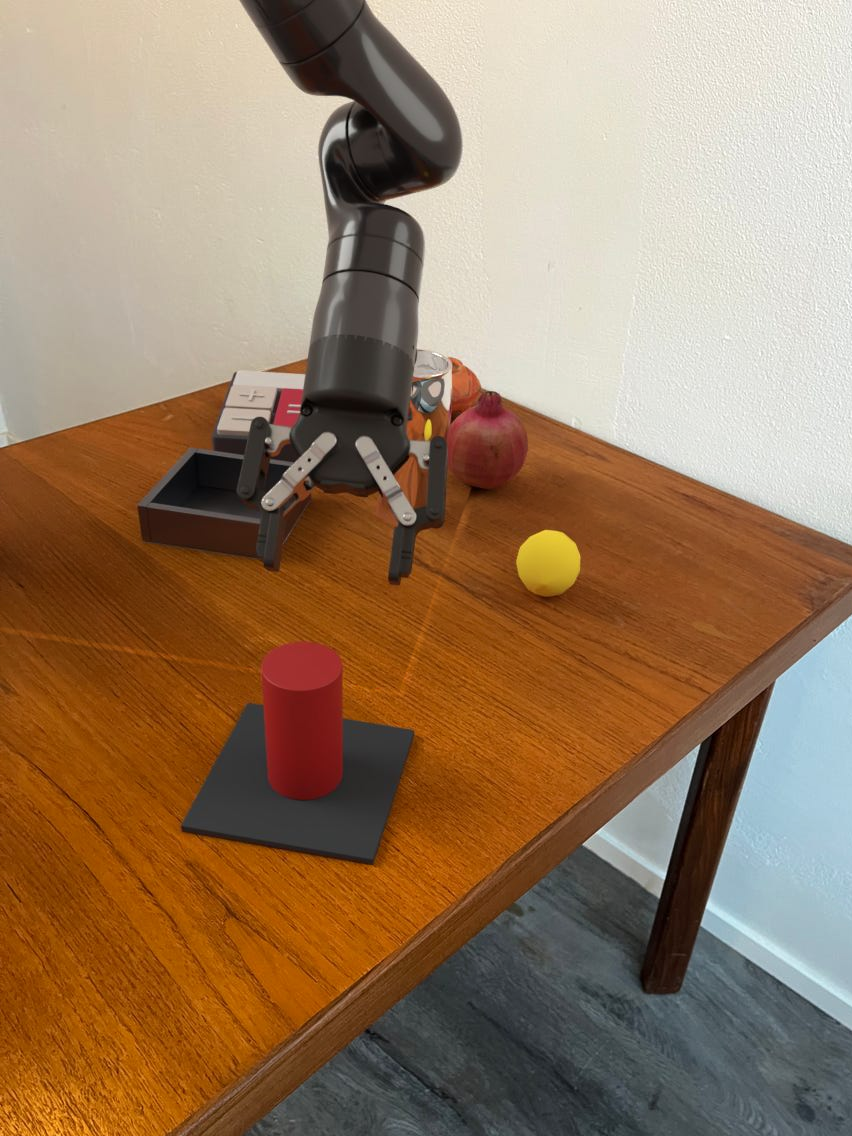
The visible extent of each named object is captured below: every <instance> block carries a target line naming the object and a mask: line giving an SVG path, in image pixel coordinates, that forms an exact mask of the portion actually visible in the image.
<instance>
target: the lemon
mask: <svg viewBox="0 0 852 1136" xmlns="http://www.w3.org/2000/svg"><path fill="white" fill-rule="evenodd" d="M515 563H516V570H517V574H518V577H519V579H520V580H521V582H522V584H523V585H524V586H525V588H526V589H527V590H528V591H530V592H531V593H533V594H534V595H537V596H540V597H555V596H560V595H562V594H564V593H565V592H566V591H568V590H569V589H570V588H571V587H572V586H573V585H574V584H575V582H576V580H577V578H578V576H579V574H580V572H581V554H580V551H579V549H578V546H577V543H576V542H575V541H573V539H571V538H570V537H569V536H568V535H567V534H566V533H564V532H563V531H558V530H554V529H553V530H552V529H544V530H542V531H540V532H539V531H538V532H537V533H535V534H533V535H531V536H529V537H528V538H526V540H525V541H524V542H523V543H522V544H521V545H520V547H519V550H518V553H517V557H516V560H515Z"/></svg>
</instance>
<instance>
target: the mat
mask: <svg viewBox="0 0 852 1136" xmlns="http://www.w3.org/2000/svg"><path fill="white" fill-rule="evenodd" d="M414 737H415V730H414V729H411V728H405V727H397V726H392V725H386V724H379V723H374V722H368V721H362V720H356V719H349V718H343V775H342V779H341V781H340V783H339V785H338V786H337V787H336V788H335V789H334V790H333V791H332V792H330V793H329V794H327V795H325V796H322V797H320V798H316V799H311V800H296V799H291V798H287V797H285V796H283V795H281V794H279V793H278V792H276V791H275V790H274V789H273V788H272V786H271V785H270V783H269V780H268V770H267V754H266V738H265V722H264V706H263V704H259V703H253V702H252V703H251V702H247V703H246V705H245V707H244V708H243V710H242V712H241V714H240V716H239V717H238V720H237V721H236V723H235V725H234V726H233V728H232V730H231V732H230V734H229V736H228V738H227V740H226V742H225V743H224V745H223V747H222V749H221V750H220V753H219V754H218V756H217V758H216V760H215V762H214V763H213V765H212V767H211V769H210V771H209V772H208V775H207V777H206V778H205V780H204V782H203V783H202V786H201V787H200V789H199V791H198V793H197V795H196V797H195V798H194V800H193V802H192V804H191V806H190V807H189V809H188V811H187V814H186V815H185V816H184V819H183V820H182V822H181V824H180V830H181V832H185V833H190V834H196V835H202V836H208V837H213V838H220V839H225V840H231V841H237V842H241V843H248V844H253V845H258V846H265V847H269V848H275V849H282V850H286V851H287V850H288V851H293V852H299V853H305V854H310V855H316V856H322V857H328V858H331V859H332V858H333V859H338V860H345V861H350V862H355V863H361V864H367V865H374V863H375V860H376V858H377V857H376V856H377V855H378V850H379V847H380V844H381V841H382V838H383V835H384V832H385V828H386V825H387V822H388V819H389V816H390V813H391V810H392V806H393V803H394V799H395V796H396V794H397V790H398V787H399V785H400V782H401V778H402V775H403V772H404V769H405V766H406V764H407V763H406V762H407V760H408V756H409V754H410V750H411V747H412V743H413V740H414Z"/></svg>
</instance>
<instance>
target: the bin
mask: <svg viewBox="0 0 852 1136" xmlns="http://www.w3.org/2000/svg"><path fill="white" fill-rule="evenodd" d="M243 458H244V455H239V454H232V453H225V452H218V451H213V449H204V448H197V447H189V448H188V449H187V450H186V452H184V453H183V455H182V456H181V457H180V458H179V459H178V460H177V461H176V462H175V463H174V465H172V466H171V468H169V470H168V471H167V472H166V473H165V474H164V475H163V477H161V479H160V480H159V481H158V482H157V483H156V484H155V485H154V486H153V488H151V489H150V491H149V492H148V493H147V494H146V495H145V496H144V497H143V498H142V499H141V500H140V501H139V502H138V504H137V505H136V506H137V514H138V522H139V529H140V534H141V541H142V542H143V543H148V544H149V543H150V544H156V545H161V546H162V545H163V546H169V547H174V548H175V547H176V548H182V549H188V550H196V551H201V552H209V553H215V554H221V555H228V556H235V557H241V558H247V559H254V560H260V559H259V558H258V556H257V552H256V547H257V540H258V533H259V526H260V519H261V512H259V511H257V510H255V509H251V508H248V507H247V506H246V505H245V503H244V502H243V501H242V499H241V498H240V497H239V496H238V494H237V486H238V481H239V476H240V472H241V467H242V462H243ZM293 464H294V462H287V461H281V460H274V459H270V463H269V468H268V473H267V477H266V482H265V487H264V491H265V492H267V493H268V492H269V491H270V490H271V489H272V488H273V487H274V486H275V485H276V484H277V483H278V482H279V481H280V480H281V478H282V475H283V474H284V473H285V471H286V470H287V469H288V468H289V467H291V466H292V465H293ZM300 471H301V470H300ZM307 484H308V483H307ZM311 501H312V492H311V493H310V494H309V495H308V496H307V497H306V498H305V499H304V500H302V501H299V502H298V503H297V504H296V505H295V506H294V507H293V508H292V509H291V510H290V511H289V512H288V513H287V514H286V515H285V516H284V517H283V518H284V520H285V521H286V527H285V534H284V541H283V545H284V544H285V542H286V541H287V539H288V537H289V536H290V534H291V532H292V531H293V529H294V528H295V526H296V525H297V523H298V521H299V519H300V518H301V516H302V515H303V514H304V512H305V510H306V509H307V507H308V505H309V504H310V502H311Z"/></svg>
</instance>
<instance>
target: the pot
mask: <svg viewBox="0 0 852 1136" xmlns="http://www.w3.org/2000/svg"><path fill="white" fill-rule="evenodd" d="M447 358H448V359H449V360H450V361H451V362H452V412H457V411H459V412H460V414H462V413H463V412H465V411H466V410H468V409H470V408H472V407H473V402H474V401H475V400H476V399H477V398H478V397H479V396H480V393H481V391H482V385H481V382H480V379H479V378H478V376H477V375H476V374H475V373H474V372H473V370H472V369H470V368H469V367H467V366H466V365H464V363H463V361H461V360H460V359H458V358H456V357H452V356H448V357H447ZM452 412H451V413H452Z"/></svg>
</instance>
